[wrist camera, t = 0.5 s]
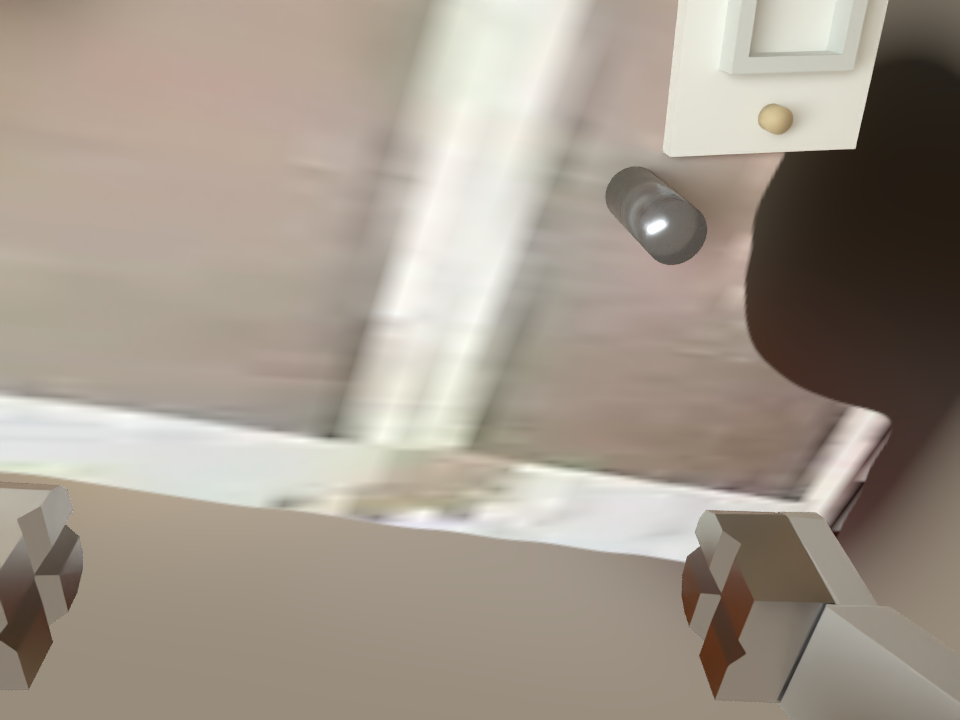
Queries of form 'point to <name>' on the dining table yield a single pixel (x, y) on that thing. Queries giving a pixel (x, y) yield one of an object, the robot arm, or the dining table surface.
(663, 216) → the pin
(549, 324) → the dining table surface
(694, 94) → the housing
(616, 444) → the dining table surface
